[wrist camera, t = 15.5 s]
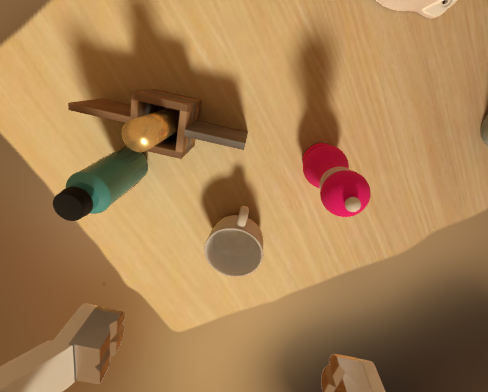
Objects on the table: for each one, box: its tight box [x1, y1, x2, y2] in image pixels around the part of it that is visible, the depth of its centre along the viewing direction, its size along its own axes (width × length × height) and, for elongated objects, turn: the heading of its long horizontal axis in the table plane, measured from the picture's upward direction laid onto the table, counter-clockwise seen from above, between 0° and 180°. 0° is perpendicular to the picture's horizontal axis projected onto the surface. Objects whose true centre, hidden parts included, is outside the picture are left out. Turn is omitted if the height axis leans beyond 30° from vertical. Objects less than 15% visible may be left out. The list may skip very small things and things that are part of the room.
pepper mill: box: [303, 143, 370, 217], centre depth 40 cm, size 7×7×20 cm
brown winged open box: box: [68, 90, 248, 159], centre depth 44 cm, size 8×26×9 cm, turn 78°
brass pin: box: [121, 108, 180, 152], centre depth 40 cm, size 4×4×16 cm
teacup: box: [204, 206, 263, 277], centre depth 52 cm, size 14×11×8 cm
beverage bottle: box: [53, 147, 148, 221], centre depth 42 cm, size 6×7×20 cm
